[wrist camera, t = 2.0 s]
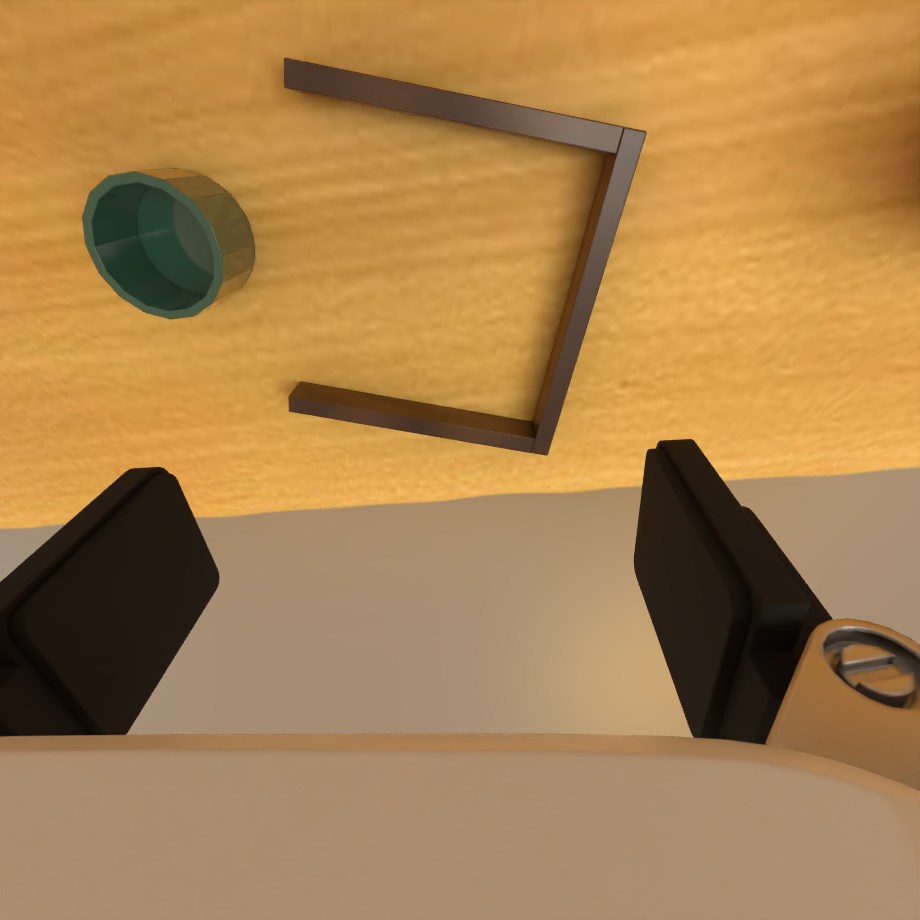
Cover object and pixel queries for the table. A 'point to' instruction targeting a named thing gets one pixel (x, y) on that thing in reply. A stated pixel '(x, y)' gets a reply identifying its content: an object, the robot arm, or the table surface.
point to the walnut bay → (585, 282)
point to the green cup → (168, 240)
